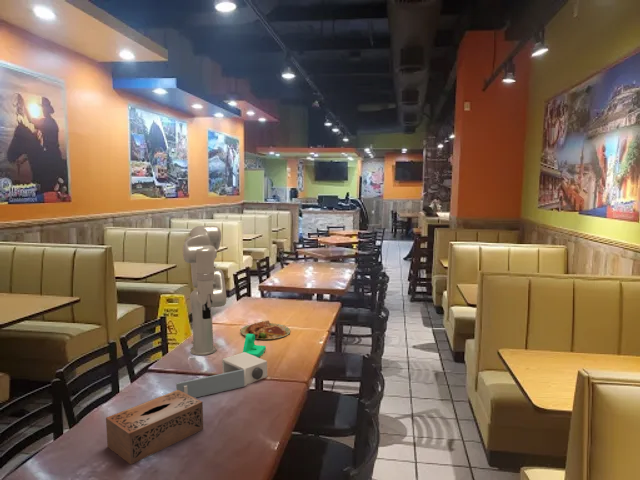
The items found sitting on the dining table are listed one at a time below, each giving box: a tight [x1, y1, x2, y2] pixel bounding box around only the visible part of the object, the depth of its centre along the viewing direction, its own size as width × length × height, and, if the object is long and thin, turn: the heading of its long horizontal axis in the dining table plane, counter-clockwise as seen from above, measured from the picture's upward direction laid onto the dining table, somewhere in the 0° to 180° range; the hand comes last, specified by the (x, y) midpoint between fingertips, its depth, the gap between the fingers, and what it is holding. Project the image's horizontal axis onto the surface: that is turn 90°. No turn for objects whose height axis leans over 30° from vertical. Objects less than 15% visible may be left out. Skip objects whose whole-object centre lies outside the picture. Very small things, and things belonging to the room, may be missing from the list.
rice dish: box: [239, 320, 291, 340], centre depth 256 cm, size 28×28×5 cm
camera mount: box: [242, 334, 267, 358], centre depth 222 cm, size 12×8×10 cm, turn 166°
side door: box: [175, 369, 247, 399], centre depth 179 cm, size 28×2×7 cm, turn 120°
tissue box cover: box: [105, 390, 204, 466], centre depth 148 cm, size 26×14×10 cm, turn 140°
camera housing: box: [221, 351, 268, 386], centre depth 197 cm, size 18×12×7 cm
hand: (206, 318), depth 196 cm, fingers closed
